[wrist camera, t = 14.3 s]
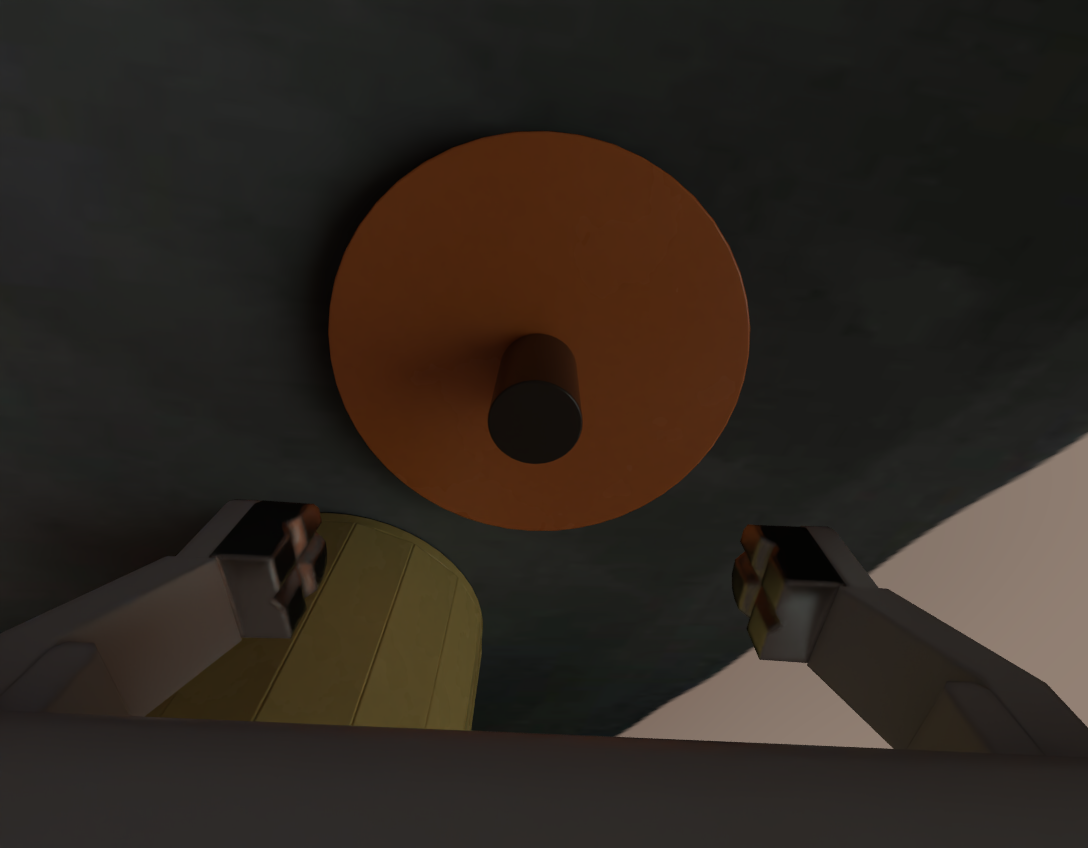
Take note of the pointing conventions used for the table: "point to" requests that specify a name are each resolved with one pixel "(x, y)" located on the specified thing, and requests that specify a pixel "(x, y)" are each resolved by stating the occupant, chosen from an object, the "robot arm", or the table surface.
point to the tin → (357, 644)
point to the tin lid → (539, 330)
